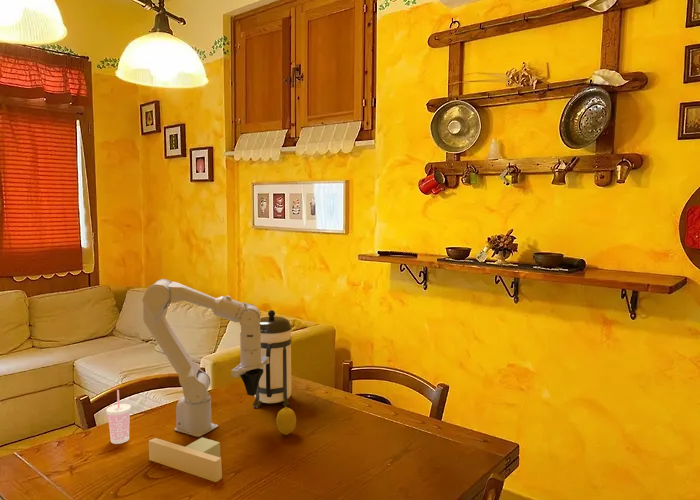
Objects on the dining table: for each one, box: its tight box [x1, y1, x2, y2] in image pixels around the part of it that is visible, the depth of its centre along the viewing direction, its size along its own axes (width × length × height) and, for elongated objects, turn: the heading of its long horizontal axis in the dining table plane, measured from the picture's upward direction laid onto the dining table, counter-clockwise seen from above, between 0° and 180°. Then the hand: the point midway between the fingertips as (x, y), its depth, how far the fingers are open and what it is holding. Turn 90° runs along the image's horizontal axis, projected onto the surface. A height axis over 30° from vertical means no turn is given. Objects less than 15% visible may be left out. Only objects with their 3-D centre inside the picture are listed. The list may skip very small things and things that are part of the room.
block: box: [184, 436, 221, 458], centre depth 132 cm, size 6×7×4 cm
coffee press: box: [252, 309, 293, 409], centre depth 169 cm, size 17×16×30 cm
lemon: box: [275, 407, 297, 436], centre depth 147 cm, size 6×6×8 cm
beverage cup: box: [106, 389, 132, 445], centre depth 144 cm, size 6×6×14 cm
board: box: [148, 437, 223, 483], centre depth 129 cm, size 22×2×5 cm, turn 62°
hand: (251, 394), depth 152 cm, fingers closed
